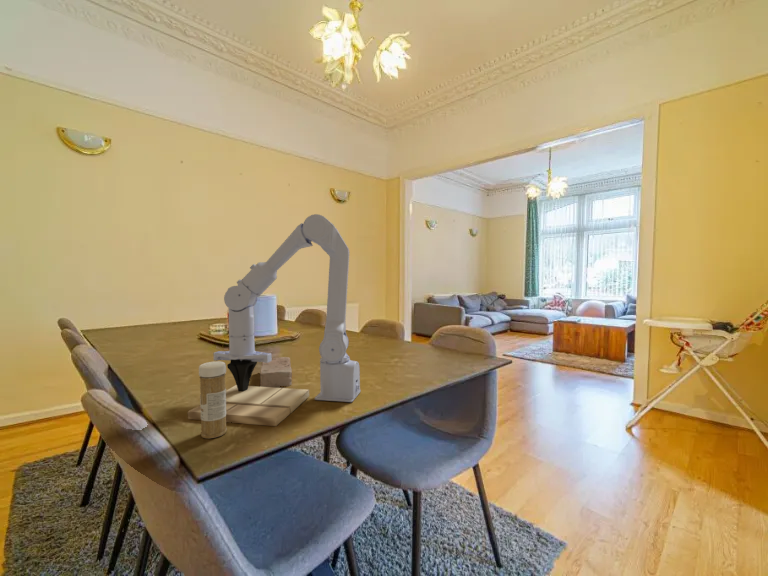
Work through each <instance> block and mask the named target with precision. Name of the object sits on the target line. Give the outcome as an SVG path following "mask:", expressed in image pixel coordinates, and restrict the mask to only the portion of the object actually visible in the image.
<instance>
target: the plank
mask: <svg viewBox="0 0 768 576" xmlns="http://www.w3.org/2000/svg"><path fill="white" fill-rule="evenodd" d="M309 397H310V389H307V388H306V389H305V388H286V387H261V386H255V385H248V389H247V390H245V391H243V392H241V391H238V388H237V385H236V384H235V385H234V386H232V387H230V388H228V389H226V402H235V403H249V404H263V405H277V406H290V414H292V413H294V411H296V409H297V408H298V407H299V406H300V405H301V404H303V403H304V402H305V401H306V400H307V399H308V398H309Z"/></svg>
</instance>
